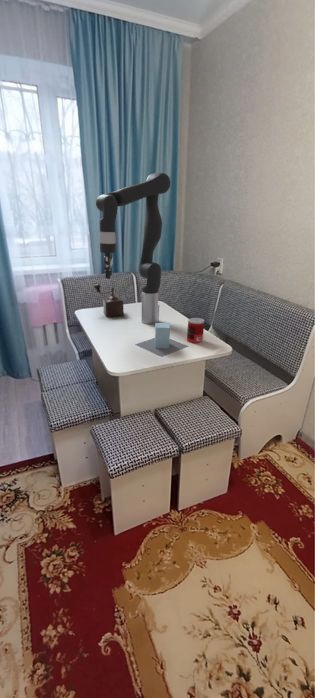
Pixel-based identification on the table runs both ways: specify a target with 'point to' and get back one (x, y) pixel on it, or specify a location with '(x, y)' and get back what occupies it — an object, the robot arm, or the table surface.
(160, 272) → the robot arm
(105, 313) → the pepper mill
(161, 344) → the light blue tall box
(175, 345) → the mat
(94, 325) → the table surface
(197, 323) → the canned food
